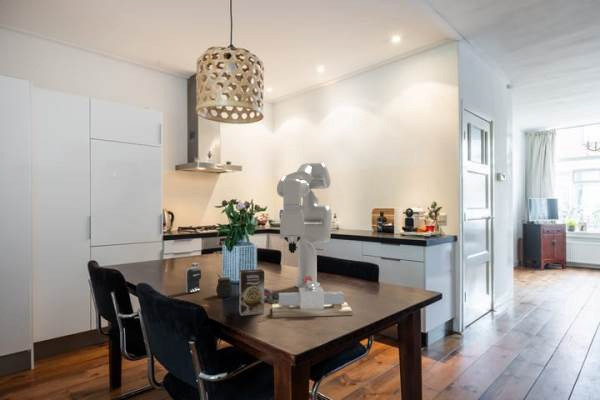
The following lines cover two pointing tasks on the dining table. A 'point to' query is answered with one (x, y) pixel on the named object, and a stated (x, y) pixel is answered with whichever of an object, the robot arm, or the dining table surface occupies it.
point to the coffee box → (251, 292)
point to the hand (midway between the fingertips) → (292, 252)
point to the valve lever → (309, 282)
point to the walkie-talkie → (270, 295)
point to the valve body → (311, 298)
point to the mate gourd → (224, 287)
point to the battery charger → (193, 280)
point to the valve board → (311, 311)
